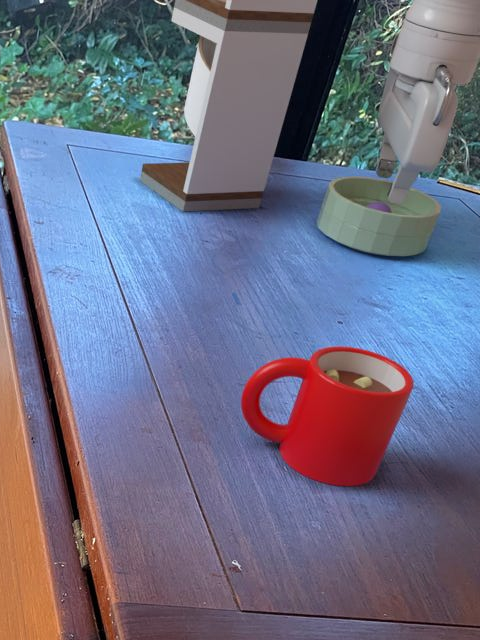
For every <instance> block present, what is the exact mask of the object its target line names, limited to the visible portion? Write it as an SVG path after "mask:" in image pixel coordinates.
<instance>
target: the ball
mask: <svg viewBox="0 0 480 640" xmlns="http://www.w3.org/2000/svg"><path fill="white" fill-rule="evenodd" d="M367 207H368V208H371V209H375V210H379V211H383V212H388V213H392V212H391V209H390V208H389V206H388V205H387V204H385V203H383V202H374V203H371V204H369V205H368V206H367Z"/></svg>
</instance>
